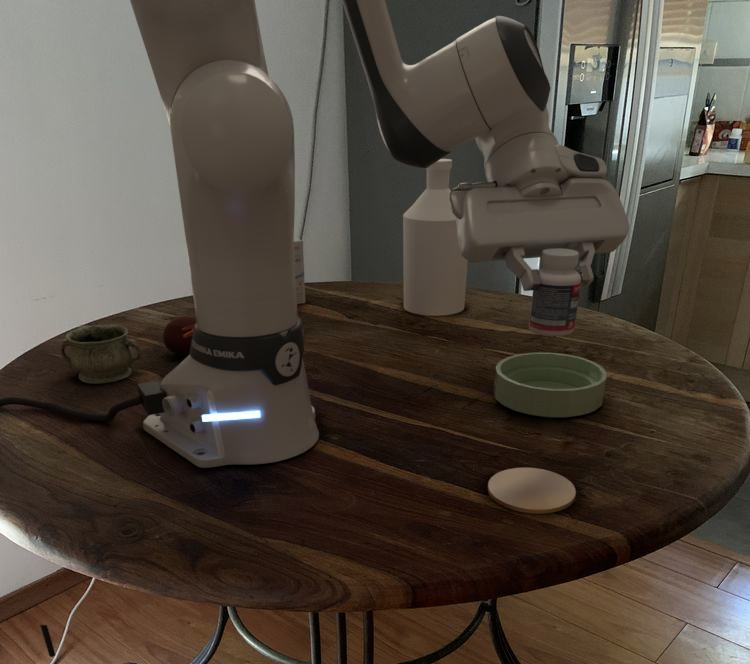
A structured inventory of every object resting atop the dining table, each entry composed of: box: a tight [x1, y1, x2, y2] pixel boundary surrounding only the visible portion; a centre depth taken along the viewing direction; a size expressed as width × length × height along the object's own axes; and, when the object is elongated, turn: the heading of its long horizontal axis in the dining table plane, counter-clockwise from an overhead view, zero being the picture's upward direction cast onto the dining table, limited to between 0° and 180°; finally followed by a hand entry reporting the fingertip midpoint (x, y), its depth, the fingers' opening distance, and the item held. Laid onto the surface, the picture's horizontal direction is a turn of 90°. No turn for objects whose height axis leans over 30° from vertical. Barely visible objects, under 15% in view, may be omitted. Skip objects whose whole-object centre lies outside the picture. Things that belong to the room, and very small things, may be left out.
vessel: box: [59, 323, 143, 385], centre depth 106 cm, size 12×9×6 cm
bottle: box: [402, 158, 469, 317], centre depth 131 cm, size 12×12×25 cm
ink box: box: [294, 235, 306, 305], centre depth 137 cm, size 9×5×12 cm, turn 118°
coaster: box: [487, 467, 577, 515], centre depth 76 cm, size 9×9×1 cm
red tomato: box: [162, 315, 197, 358], centre depth 113 cm, size 8×9×6 cm
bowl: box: [493, 352, 608, 418], centre depth 97 cm, size 14×14×4 cm
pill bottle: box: [528, 248, 582, 337], centre depth 83 cm, size 5×5×9 cm
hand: (559, 285), depth 82 cm, fingers closed on pill bottle, 5 cm apart
